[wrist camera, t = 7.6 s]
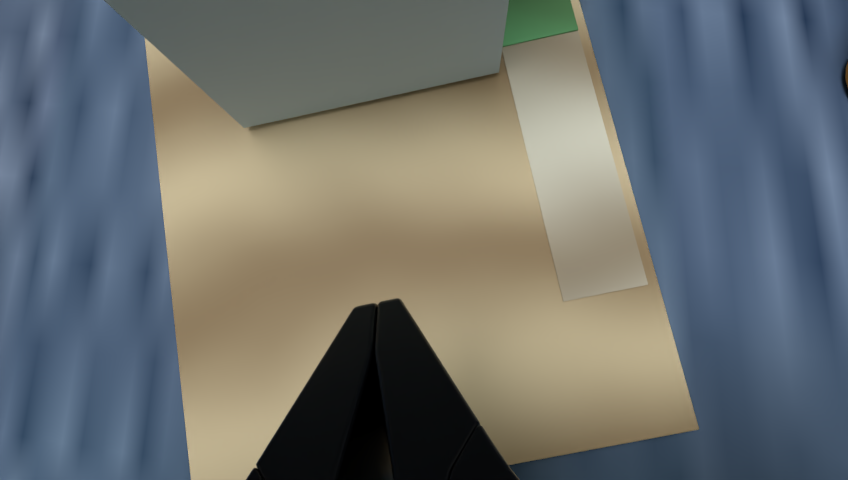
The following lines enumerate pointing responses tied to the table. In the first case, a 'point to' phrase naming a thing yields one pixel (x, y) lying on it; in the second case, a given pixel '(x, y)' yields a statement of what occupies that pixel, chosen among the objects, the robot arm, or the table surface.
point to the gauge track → (420, 251)
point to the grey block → (319, 48)
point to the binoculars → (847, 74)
